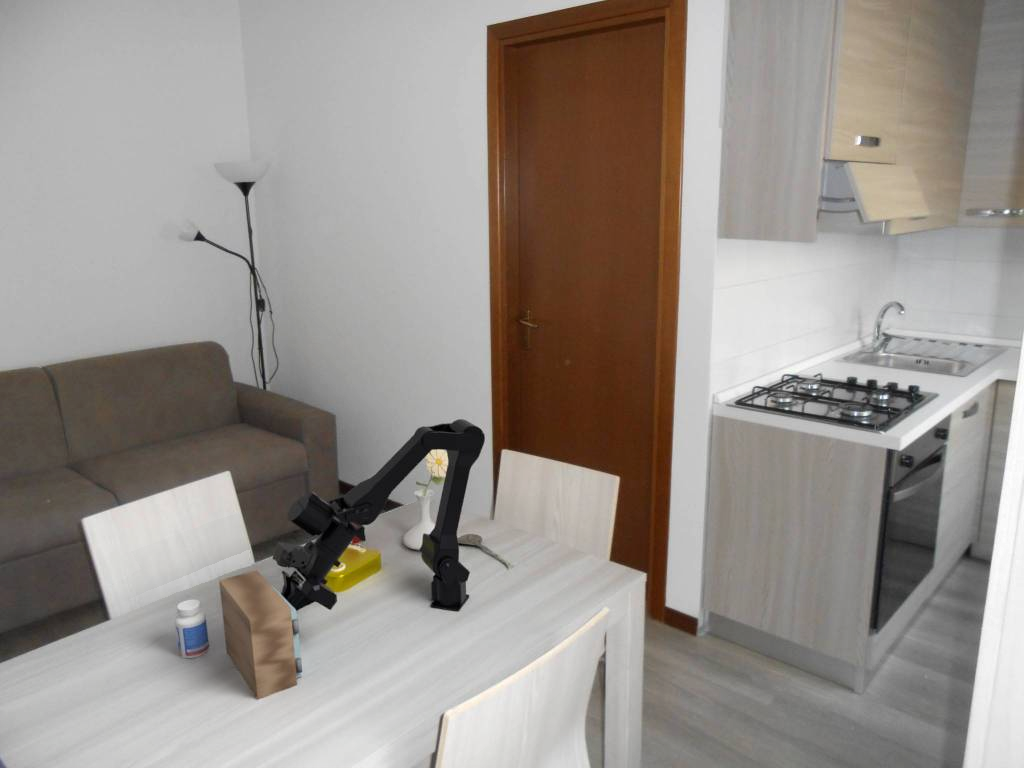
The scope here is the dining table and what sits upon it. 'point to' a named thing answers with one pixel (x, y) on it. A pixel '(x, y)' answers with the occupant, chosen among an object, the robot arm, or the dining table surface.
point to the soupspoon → (476, 540)
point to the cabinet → (258, 633)
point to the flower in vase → (427, 498)
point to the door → (294, 636)
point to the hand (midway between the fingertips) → (277, 616)
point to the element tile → (353, 567)
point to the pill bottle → (191, 629)
